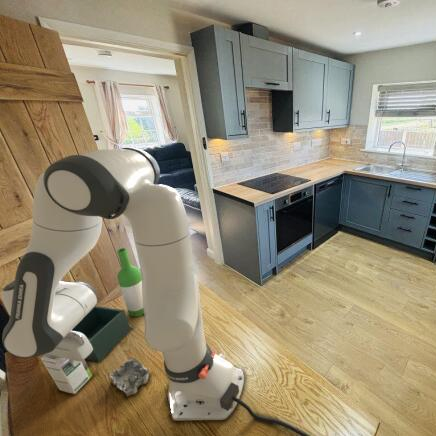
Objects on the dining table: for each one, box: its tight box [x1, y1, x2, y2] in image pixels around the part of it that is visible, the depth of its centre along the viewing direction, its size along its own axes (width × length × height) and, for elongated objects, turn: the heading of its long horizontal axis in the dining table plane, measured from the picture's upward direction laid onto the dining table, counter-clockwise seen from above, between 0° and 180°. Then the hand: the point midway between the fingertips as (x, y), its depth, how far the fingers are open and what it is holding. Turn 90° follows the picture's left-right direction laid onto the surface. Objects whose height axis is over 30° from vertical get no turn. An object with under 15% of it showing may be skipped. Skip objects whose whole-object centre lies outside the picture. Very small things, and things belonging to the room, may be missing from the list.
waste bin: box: [71, 305, 132, 363], centre depth 85 cm, size 14×14×10 cm
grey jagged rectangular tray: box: [107, 357, 150, 397], centre depth 74 cm, size 11×8×4 cm
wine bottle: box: [116, 247, 144, 317], centre depth 95 cm, size 8×8×30 cm
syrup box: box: [40, 355, 93, 395], centre depth 71 cm, size 6×6×14 cm
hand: (65, 362), depth 70 cm, fingers closed on syrup box, 6 cm apart
